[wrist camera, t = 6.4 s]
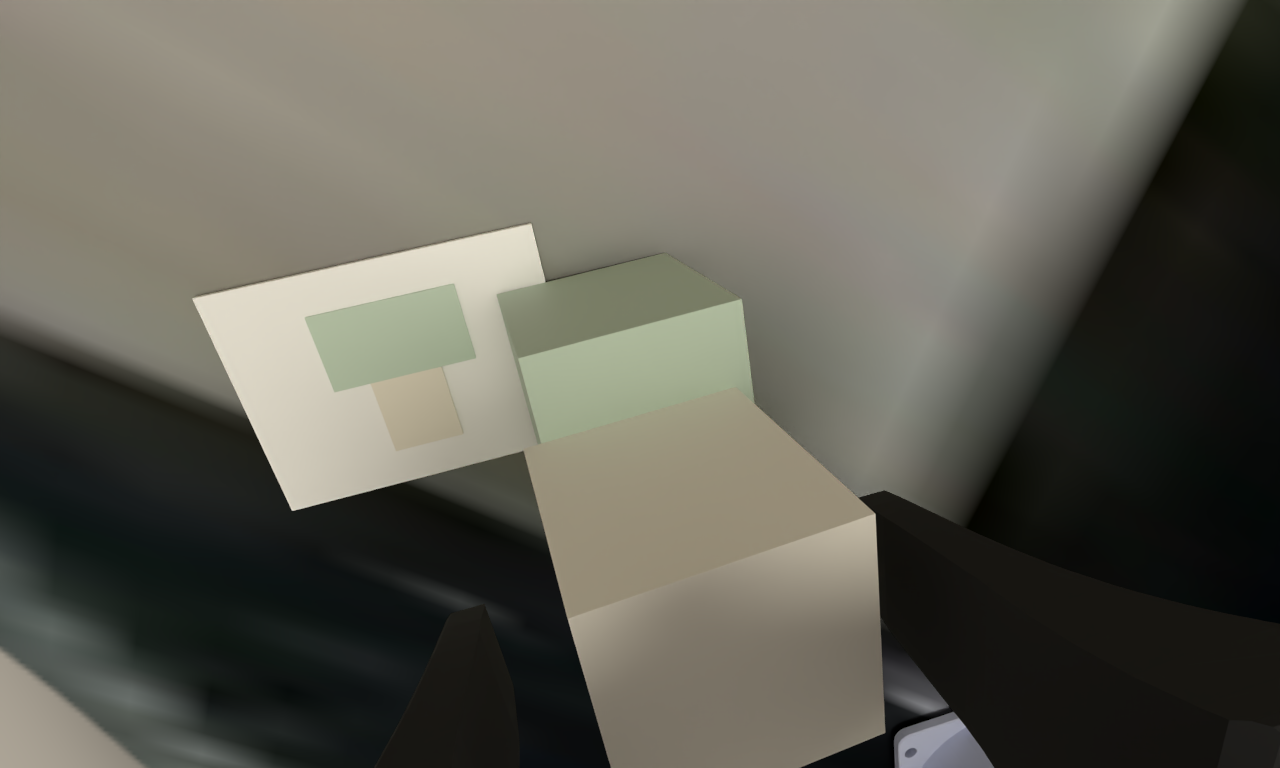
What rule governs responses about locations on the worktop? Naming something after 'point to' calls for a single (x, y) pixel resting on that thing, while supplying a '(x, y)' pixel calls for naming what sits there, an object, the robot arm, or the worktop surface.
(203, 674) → the worktop surface
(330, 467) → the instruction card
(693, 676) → the ivory brick
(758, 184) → the worktop surface
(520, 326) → the sage brick
